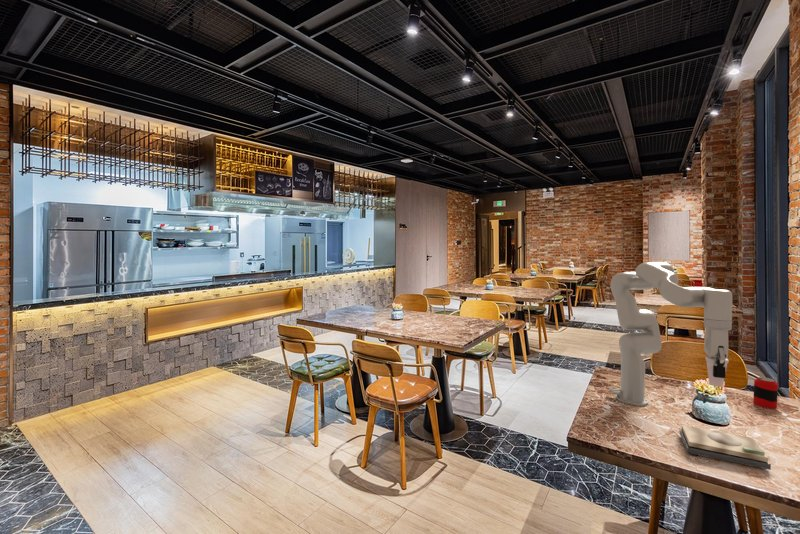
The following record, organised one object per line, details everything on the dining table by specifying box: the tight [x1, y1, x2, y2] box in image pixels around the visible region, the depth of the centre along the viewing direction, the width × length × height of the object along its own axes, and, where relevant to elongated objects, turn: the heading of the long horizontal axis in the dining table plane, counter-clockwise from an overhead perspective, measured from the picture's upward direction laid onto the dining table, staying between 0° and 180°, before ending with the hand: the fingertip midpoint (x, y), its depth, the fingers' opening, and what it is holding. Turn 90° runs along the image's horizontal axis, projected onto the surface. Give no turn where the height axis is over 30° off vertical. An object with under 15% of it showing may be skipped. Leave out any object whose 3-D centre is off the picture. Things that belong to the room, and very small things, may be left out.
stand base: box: [678, 428, 772, 471], centre depth 128 cm, size 21×15×3 cm
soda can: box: [752, 376, 779, 410], centre depth 166 cm, size 8×8×12 cm
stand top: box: [681, 424, 769, 462], centre depth 128 cm, size 20×14×2 cm
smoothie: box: [704, 355, 730, 388], centre depth 131 cm, size 6×6×14 cm
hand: (716, 374), depth 131 cm, fingers closed on smoothie, 6 cm apart
